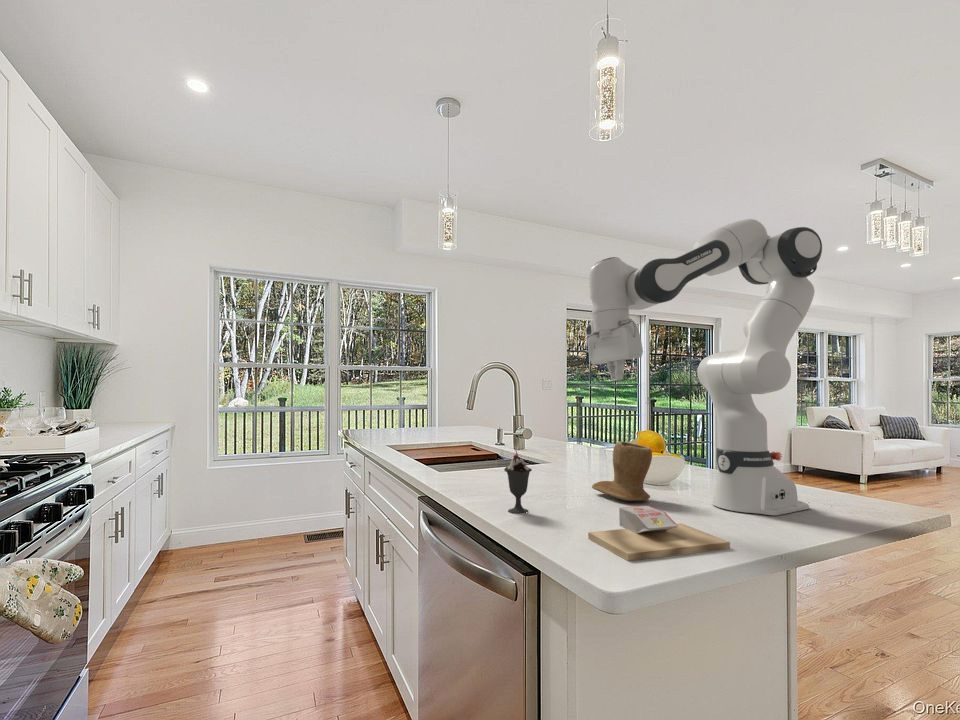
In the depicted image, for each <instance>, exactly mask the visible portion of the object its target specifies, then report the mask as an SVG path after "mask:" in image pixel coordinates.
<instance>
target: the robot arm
mask: <svg viewBox="0 0 960 720" xmlns="http://www.w3.org/2000/svg"><path fill="white" fill-rule="evenodd" d="M822 253H823V243H822V240H821V238H820V235H819V234H818V232H816V231H815V230H814V229H813V228H809V227H807V226H806V227H805V226H800V227H799V226H798V227H792V228H790V229H787V230H785V231H783V232H781V233H779V234H776V235H774V236H770V235H769V234H768V232H767V229H766V228H765V226H764V225H763V224H762V223H761V222H760V221H759V220H757V219H753V218H746V219H745V218H744V219H742V220H739V221H738V220H737V221H735V222H734V221H733V222H731V223H727V224H725V225H723V226H720V227H718V228H717V229H714V230H712V231H710V232H709V233H707V234H705V235H703V236H702V237H701V238H700V239H698V240H697V241H696V242H694V243H693V247H692V250H691V251H688V252H686V253H684V254H682V255H680V256H677V257H674V258H655V259H652V260H650V261H648V262H647V263H646V264H645V265H643V266H642V267H640V268H637V267H634V266H631V265H629V264H627V263H626V262H624V261H623V260H622V259H621V258H620V257H617V256H615V257H614V256H612V257H607V258H604V259H602V260H599V261H597V262H596V263H594V264H593V265H592V266H591V267H590V269H589V274H588V275H589V276H588V281H589V282H588V283H589V284H588V285H589V286H588V287H589V297H590V300H591V304H592V309H591V310H592V311H591V317H592V318H591V319H590V322H589V324H588V325H587V326H585V329H584V330H585V331H584V332H585V336H586V337H588V338H587V348H588V349H587V351H588V355H589V357H588V358H589V360H590V363H591V364H592V365H604V364H606V368H607V370H608V372H609V374H610V380H611V381H621V380H622V381H623V380H624V369H625V366H626V363H625V361H626V360H634V359H639V358H642V356H643V352H644V351H643V350H644V348H643V343H642V339H641V334H640V330H639V328H638V327H637V324H636V322H635V321H634V320H633V319H632V318H630V310H634V311H635V310H636V311H642V310H646V309H648V308H652V307H654V306H656V305H659V304H662V303H666V302H669V301H672V300H673V299H675V298H676V297H677V296H678V295H679V294H680V292H682V290H683V288H684V287H685V286H686V285H687V284H688V283H689V282H691V281H693V280H695V279H697V278H698V277H701V276H702V275H706V276H710V277H711V276H716V275H721V274H723V273H724V274H725V273H726V272H728V271H731V270H733V269H735V268H737V267H738V269H739V272H740V273H741V275H742V277H743V278H744V279H745V280H746V282H749V284H752V285H767V287H766V291H765V293H764V295H763V296H762V298H761V299H760V300H759V302H758V303H757V304H756V306H755V308H754V309H753V311H752V312H751V314H750V315H749V317H748V318H747V319H746V321H745V323H744V325H743V334H744V335H745V338H746V340H745V342H744V343H743V346H741V347H740V348H739V349H736V350H729V351H727V350H726V351H719V352H716V353H712V354H711V355H708V356H706V357H704V358H703V359H702V360H701V361H700V362H699V365H698V367H697V371H696V372H697V374H696V375H697V378H698V381H699V383H700V385H702V387H703V388H705V390H706V391H707V393H708V395H709V397H710V399H711V402H712V404H713V408H714V412H715V415H716V422H717V423H716V426H717V448H716V451H715V452H716V453H715V454H716V455H715V458H716V459H715V460H716V464H717V472H716V482H715V488H714V494H713V499H712V502H711V504H712V505H713V506H715V507H717V508H719V509H724V510H729V511H733V512H739V513H750V514H761V515H765V516H767V515H768V516H781V515H785V514H790V513H795V512H801V511H804V510H809V509H810V505H809V503H806V502H805V501H801V500H798V499H799V498H798V490H797V486H796V484H795V482H794V481H793V480H791V479H790V478H789V477H788V476H787V475H786V474H784V473H783V472H782V471H780V470H779V469H778V468H777V467H776V466H775V463H774V460H776V461H781V460H782V458H783V456H782V455H783V454H782V453H781V452H780V451H779V452H778V451H772V452H770V451H769V449H768V421H767V419H766V417H765V415H764V414H763V413H762V412H760V410H759V409H758V407H756V404H755V403H754V400H753V397H752V395H765V394H770V393H774V392H777V391H780V390H783V389H784V388H785V387H786V386H788V383H789V382H790V379H791V375H792V368H791V364H790V360H789V359H788V358H787V357H786V352H787V349H788V345H789V343H790V342H791V340H792V339H793V337H794V335H795V334H796V332H797V330H798V329H799V327H800V326H801V324H802V322H803V321H804V319H805V318H806V316H807V314H808V312H809V309H810V307H811V306H812V303H813V299H814V296H815V287H814V284H813V283H812V282H811V280H809V279H808V277H810V276H812V274H814V273H815V272H816V271H817V268H818V263H819V261H820V259H821V257H822Z"/></svg>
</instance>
